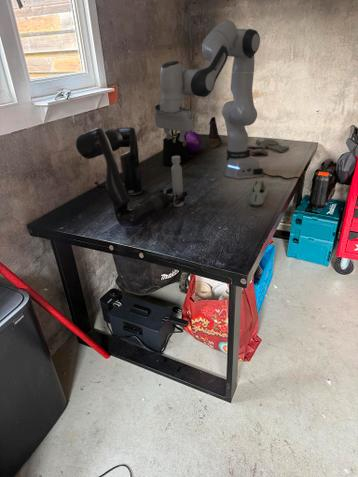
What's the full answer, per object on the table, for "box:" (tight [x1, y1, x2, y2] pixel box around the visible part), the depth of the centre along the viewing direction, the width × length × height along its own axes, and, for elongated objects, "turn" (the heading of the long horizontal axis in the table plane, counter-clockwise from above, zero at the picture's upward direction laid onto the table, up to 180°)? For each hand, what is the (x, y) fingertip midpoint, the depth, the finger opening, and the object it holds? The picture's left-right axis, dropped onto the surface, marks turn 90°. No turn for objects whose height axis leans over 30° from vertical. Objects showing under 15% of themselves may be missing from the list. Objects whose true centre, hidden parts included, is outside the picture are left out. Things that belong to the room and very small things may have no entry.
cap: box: [172, 156, 182, 164], centre depth 147 cm, size 4×4×2 cm
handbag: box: [162, 129, 190, 167], centre depth 211 cm, size 21×9×25 cm, turn 148°
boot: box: [208, 116, 222, 149], centre depth 245 cm, size 9×24×20 cm, turn 168°
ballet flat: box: [249, 179, 269, 207], centre depth 158 cm, size 8×24×8 cm, turn 163°
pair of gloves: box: [247, 138, 290, 156], centre depth 228 cm, size 30×26×5 cm
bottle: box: [170, 163, 185, 208], centre depth 152 cm, size 5×5×23 cm
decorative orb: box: [185, 130, 202, 154], centre depth 230 cm, size 15×15×15 cm
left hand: (179, 191), depth 155 cm, fingers open, 8 cm apart
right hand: (175, 140), depth 143 cm, fingers open, 6 cm apart
